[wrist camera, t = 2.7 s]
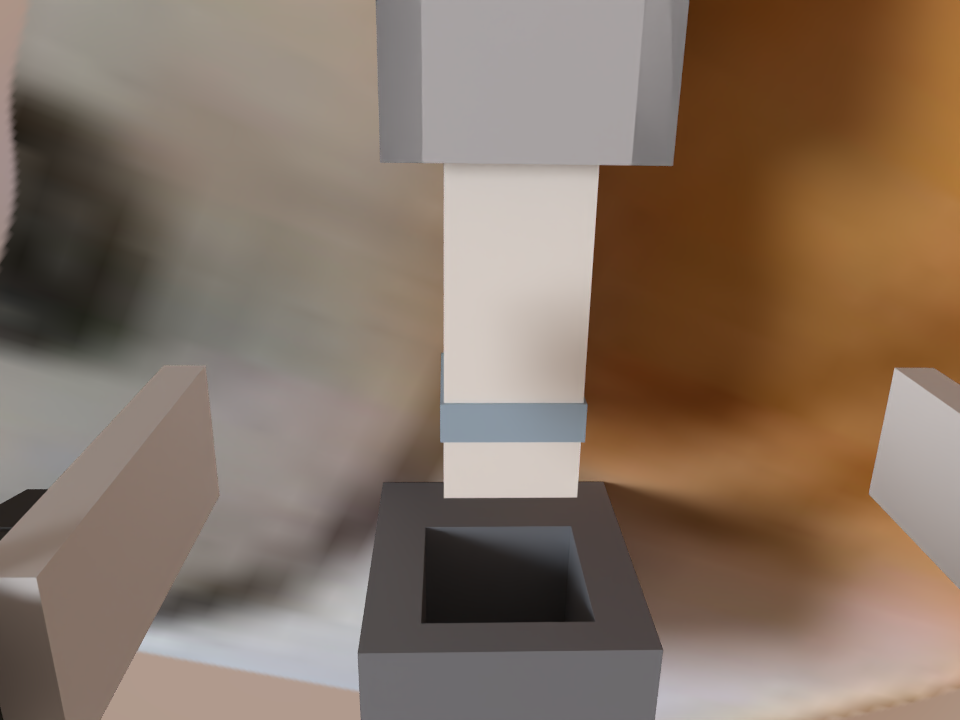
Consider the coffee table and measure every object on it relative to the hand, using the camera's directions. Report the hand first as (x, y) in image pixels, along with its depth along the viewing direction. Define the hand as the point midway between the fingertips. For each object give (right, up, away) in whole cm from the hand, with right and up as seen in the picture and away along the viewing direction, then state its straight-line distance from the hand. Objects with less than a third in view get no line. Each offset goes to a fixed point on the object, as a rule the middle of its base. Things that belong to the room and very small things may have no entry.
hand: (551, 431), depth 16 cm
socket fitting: (-1, -6, +19) cm, 20 cm away
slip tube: (-1, +8, +9) cm, 12 cm away
